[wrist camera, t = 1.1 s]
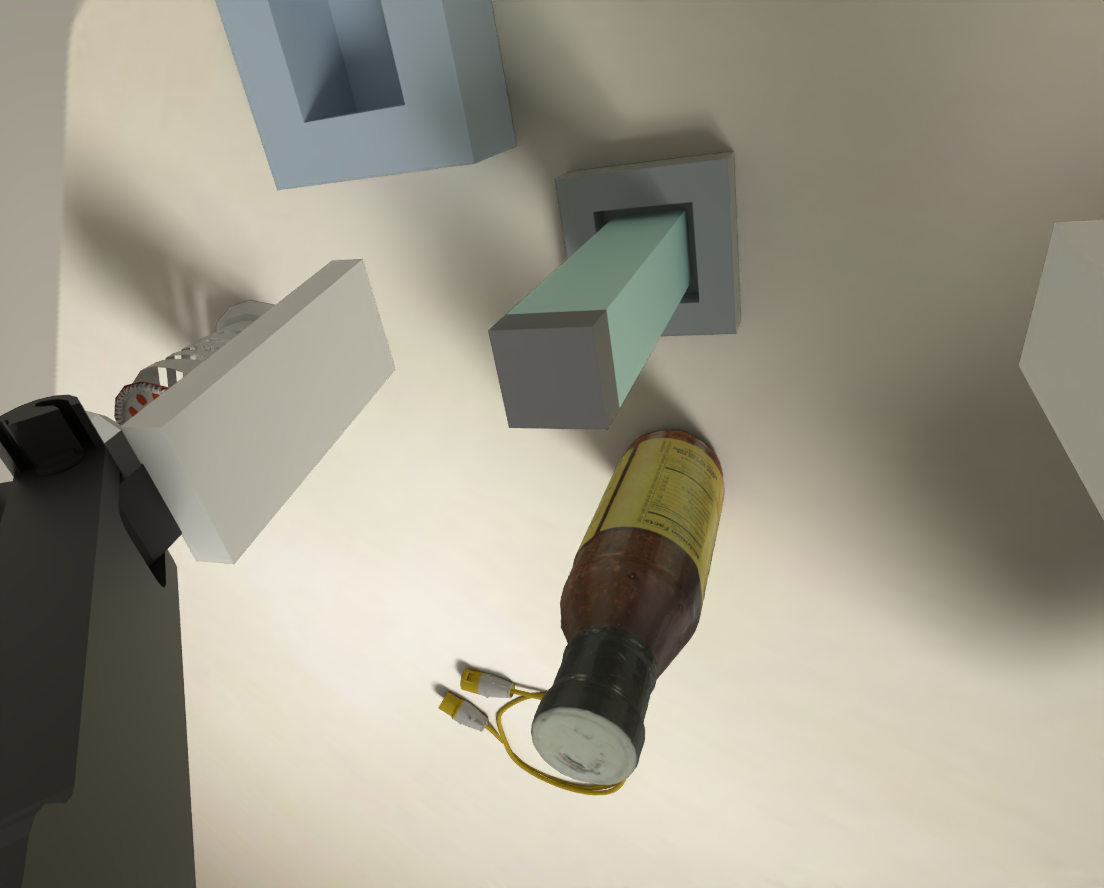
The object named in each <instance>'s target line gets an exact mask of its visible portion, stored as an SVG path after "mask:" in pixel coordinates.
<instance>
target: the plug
mask: <svg viewBox="0 0 1104 888" xmlns="http://www.w3.org/2000/svg"><path fill="white" fill-rule="evenodd" d="M690 283H691V269H690V255H689V241H688V228H687V214H686V209H684V210H673V211H663V212H653V213H642V214H632V215H622V216H615V217H614V218H612V219H611V220H610V221H609V222H608V223H607V224H606V225H605V226H604V227H602V228H601V229H600V230H599V231H598V232H597V233H596V234H595V235H594V236H592V237H591V238H590V239H589V240H588V241H587V242H586V243H585V244H584V245H583V246H581V247H580V248H579V249H578V250H577V251H576V252H575V253H574V254H573V255H571V256H570V257H569V258H568V259H567V260H566V261H565V262H564V263H563V264H562V265H560V266H559V267H558V268H557V269H556V270H555V271H554V272H553V273H552V274H550V275H549V276H548V277H547V278H546V279H545V280H544V281H543V282H542V283H540V284H539V285H538V286H537V287H536V288H535V289H534V290H533V291H532V292H531V293H529V294H528V295H527V296H526V297H525V298H524V299H523V300H522V301H521V302H519V303H518V304H517V305H516V306H515V307H514V308H513V309H512V310H511V311H510V312H508V313H507V314H506V315H505V316H504V317H503V318H502V319H501V320H500V321H498V322H497V323H496V324H495V325H494V326H493V327H492V328H491V329H490V330H488V332H489V336H490V341H491V346H492V350H493V355H494V360H495V364H496V369H497V374H498V378H499V383H500V388H501V392H502V397H503V402H504V406H505V411H506V416H507V420H508V425H509V428H549V429H608V428H609V426H610V425H611V423H612V421H613V419H614V417H615V416H616V414H617V412H618V410H619V409H620V407H621V405H622V403H623V402H624V400H625V398H626V396H627V394H628V393H629V391H630V389H631V387H632V386H633V384H634V382H635V380H636V379H637V377H638V375H639V373H640V372H641V370H642V368H643V366H644V364H645V363H646V361H647V359H648V357H649V356H650V354H651V352H652V350H653V349H654V347H655V345H656V343H657V341H658V340H659V338H660V336H661V334H662V333H663V331H664V329H665V327H666V326H667V324H668V322H669V320H670V318H671V317H672V315H673V313H674V311H675V310H676V308H677V306H678V304H679V303H680V301H681V299H682V297H683V295H684V294H685V292H686V290H687V288H688V287H689V285H690Z"/></svg>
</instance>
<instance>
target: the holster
mask: <svg viewBox="0 0 1104 888" xmlns="http://www.w3.org/2000/svg"><path fill="white" fill-rule="evenodd" d="M555 183H556V189H557V196H558V202H559V209H560V215H561V222H562V228H563V235H564V241H565V248H566V254H567V259H568V258H569V257H570V256H571V255H573V254H574V253H575V252H576V251H577V250H578V249H579V248H580V247H581V246H583V245H584V244H585V243H586V242H587V241H588V240H589V239H590V238H591V237H592V236H594V235H595V234H596V233H597V232H598V231H599V230H600V229H601V228H602V227H604V226H605V225H606V224H607V223H608V222H609V221H610V220H611V219H612V218H614V217H615V216H622V215H632V214H642V213H653V212H663V211H673V210H684V209H686V214H687V228H688V241H689V255H690V269H691V283H690V285H689V287H688V288H687V290H686V292H685V294H684V295H683V297H682V299H681V301H680V303H679V304H678V306H677V308H676V310H675V311H674V313H673V315H672V317H671V318H670V320H669V322H668V324H667V326H666V327H665V329H664V331H663V333H662V334H661V336H682V335H713V334H736V333H737V330H738V327H739V324H740V321H741V307H740V283H739V259H738V235H737V212H736V188H735V164H734V151H731V152H723V153H715V154H707V155H699V156H691V157H683V158H675V159H667V160H658V161H650V162H642V163H634V164H626V165H618V166H610V167H602V168H594V169H586V170H578V171H570V172H567V173H565V174H563V175H562V176H560V177H558V178H557V179H555Z"/></svg>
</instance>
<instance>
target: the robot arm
mask: <svg viewBox="0 0 1104 888" xmlns="http://www.w3.org/2000/svg"><path fill="white" fill-rule="evenodd" d="M1019 367H1020V369H1021V371H1022V373H1023V375H1024V376H1025V378H1026V380H1027V382H1028V384H1029V386H1030V387H1031V389H1032V391H1033V393H1034V395H1035V397H1036V398H1037V400H1038V402H1039V404H1040V406H1041V407H1042V409H1043V411H1044V413H1045V415H1046V417H1047V418H1048V420H1049V422H1050V424H1051V426H1052V427H1053V429H1054V431H1055V433H1056V435H1057V437H1058V438H1059V440H1060V442H1061V444H1062V446H1063V448H1064V449H1065V451H1066V453H1067V455H1068V457H1069V458H1070V460H1071V462H1072V464H1073V466H1074V468H1075V469H1076V471H1077V473H1078V475H1079V477H1080V479H1081V480H1082V482H1083V484H1084V486H1085V488H1086V489H1087V491H1088V493H1089V495H1090V497H1091V499H1092V500H1093V502H1094V504H1095V506H1096V508H1097V510H1098V511H1099V513H1100V515H1101V517H1102V519H1103V520H1104V219H1103V220H1084V221H1065V222H1055V223H1054V227H1053V231H1052V235H1051V239H1050V243H1049V247H1048V251H1047V255H1046V259H1045V263H1044V267H1043V271H1042V275H1041V279H1040V283H1039V287H1038V291H1037V295H1036V299H1035V303H1034V307H1033V311H1032V315H1031V319H1030V323H1029V327H1028V331H1027V335H1026V339H1025V343H1024V347H1023V351H1022V355H1021V359H1020V363H1019ZM395 370H396V369H395V366H394V362H393V359H392V355H391V352H390V349H389V345H388V342H387V339H386V335H385V332H384V329H383V325H382V322H381V319H380V315H379V312H378V308H377V305H376V302H375V298H374V295H373V292H372V288H371V285H370V282H369V278H368V275H367V272H366V268H365V265H364V261H363V259H354V260H335V261H331V262H330V263H328V264H327V265H326V266H325V267H323V268H322V269H321V270H320V271H318V272H317V273H316V274H314V275H313V276H312V277H311V278H309V279H308V280H307V281H305V282H304V283H303V284H302V285H300V286H299V287H298V288H297V289H295V290H294V291H293V292H291V293H290V294H289V295H288V296H286V297H285V298H284V299H283V300H281V301H280V302H279V303H277V304H276V305H275V306H274V307H272V308H271V309H270V310H269V311H267V312H266V313H265V314H263V315H262V316H261V317H260V318H258V319H257V320H256V321H254V322H253V323H252V324H251V325H249V326H248V327H247V328H246V329H244V330H243V331H242V332H240V333H239V334H238V335H237V336H235V337H234V338H233V339H232V340H230V341H229V342H228V343H226V344H225V345H224V346H223V347H221V348H220V349H219V350H218V351H216V352H215V353H214V354H212V355H211V356H210V357H209V358H207V359H206V360H205V361H203V362H202V363H201V364H200V365H198V366H197V367H196V368H195V369H193V370H192V371H191V372H189V373H188V374H187V375H186V376H184V377H183V378H182V379H181V380H179V381H178V382H177V383H175V384H174V385H173V386H172V387H170V388H169V389H168V390H166V391H165V392H164V393H163V394H161V395H160V396H159V397H158V398H156V399H155V400H154V401H152V402H151V403H150V404H149V405H147V406H146V407H145V408H144V409H142V410H141V411H140V412H138V413H137V414H136V415H135V416H133V417H132V418H131V419H130V420H128V421H127V422H126V423H124V424H123V425H122V426H121V427H120V428H121V431H119V432H118V433H117V434H115V435H114V436H113V437H112V438H110V439H109V440H108V441H107V442H105V443H104V442H103V440H102V438H101V437H100V435H99V433H98V432H97V430H96V428H95V427H94V425H93V423H92V421H91V420H90V418H89V416H88V415H87V413H86V411H85V410H84V408H83V406H82V405H81V403H80V401H79V400H78V398H77V397H75V396H71V395H56V396H51V397H46V398H43V399H39V400H35V401H32V402H29V403H27V404H24V405H21V406H19V407H17V408H15V409H13V410H11V411H9V412H7V413H5V414H3V415H1V416H0V458H1V460H2V461H3V462H4V464H5V465H6V467H7V468H8V469H9V471H10V472H11V474H12V475H13V477H14V478H13V481H11V482H5V483H0V888H196V880H195V863H194V846H193V829H192V813H191V796H190V779H189V762H188V745H187V729H186V712H185V695H184V678H183V662H182V645H181V628H180V611H179V594H178V578H177V566H176V564H175V562H174V560H173V558H172V556H171V555H170V553H169V551H168V550H167V549H168V548H169V547H170V546H171V545H172V544H173V543H174V542H175V540H176V539H177V538H178V537H179V536H180V535H182V537H183V538H184V540H185V542H186V544H187V545H188V547H189V549H190V551H191V552H192V554H193V556H194V558H195V559H196V561H200V562H212V563H224V564H235V563H236V561H237V560H238V559H239V558H240V557H241V555H242V554H243V553H244V552H245V551H246V549H247V548H248V547H249V546H250V545H251V543H252V542H253V541H254V540H255V538H256V537H257V536H258V535H259V534H260V532H261V531H262V530H263V529H264V528H265V526H266V525H267V524H268V523H269V522H270V520H271V519H272V518H273V517H274V516H275V514H276V513H277V512H278V511H279V510H280V508H281V507H282V506H283V505H284V503H285V502H286V501H287V500H288V499H289V497H290V496H291V495H292V494H293V493H294V491H295V490H296V489H297V488H298V487H299V485H300V484H301V483H302V482H303V481H304V479H305V478H306V477H307V476H308V475H309V473H310V472H311V471H312V470H313V469H314V467H315V466H316V465H317V464H318V462H319V461H320V460H321V459H322V458H323V456H324V455H325V454H326V453H327V452H328V450H329V449H330V448H331V447H332V446H333V444H334V443H335V442H336V441H337V440H338V438H339V437H340V436H341V435H342V434H343V432H344V431H345V430H346V429H347V428H348V426H349V425H350V424H351V423H352V421H353V420H354V419H355V418H356V417H357V415H358V414H359V413H360V412H361V411H362V409H363V408H364V407H365V406H366V405H367V403H368V402H369V401H370V400H371V399H372V397H373V396H374V395H375V394H376V393H377V391H378V390H379V389H380V388H381V387H382V385H383V384H384V383H385V382H386V380H387V379H388V378H389V377H390V376H391V374H392V373H393V372H394V371H395Z"/></svg>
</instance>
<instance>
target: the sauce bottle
mask: <svg viewBox="0 0 1104 888" xmlns="http://www.w3.org/2000/svg"><path fill="white" fill-rule="evenodd" d="M724 492H725V488H724V481H723V473H722V469H721V465H720V462H719V459H718V457H717V455H716V454H715V453H714V452H713V451H712V450H711V449H710V448H709V447H708V446H707V445H706V444H705V443H703V442H702V441H700V440H699V439H697V438H696V437H694V436H693V435H690V434H688V433H686V432H683V431H680V430H663V431H658V432H653V433H650V434H646V435H644V436H641V437H639V438H638V439H637V440H636V441H635V442H634V443H633V444H632V445H631V446H630V448H629V449H628V451H627V453H626V454H625V455H624V456H623V457H622V458H621V460H620V461H619V463H618V465H617V467H616V469H615V471H614V473H613V475H612V478H611V480H610V482H609V484H608V486H607V488H606V490H605V493H604V495H603V497H602V499H601V501H600V504H599V506H598V508H597V510H596V512H595V515H594V517H593V519H592V521H591V523H590V525H589V528H588V530H587V532H586V534H585V536H584V538H583V541H582V543H581V545H580V547H579V549H578V552H577V554H576V556H575V559H574V563H573V568H572V570H571V572H570V575H569V576H568V579H567V581H566V583H565V585H564V588H563V592H562V596H561V601H560V608H561V629H562V631H563V633H564V635H565V637H566V640H567V642H568V645H567V646H566V648H565V651H564V654H563V659H562V664H561V666H560V668H559V670H558V673H557V676H556V678H555V680H554V684H553V686H552V687H551V688H550V689H549V690H548V691H547V693H546V694H545V695H544V697H543V698H542V699H541V702H540V704H539V706H538V709H537V711H536V714H535V716H534V720H533V722H532V729H531V734H532V740H533V744H534V746H535V748H536V750H537V751H538V753H539V754H540V755H541V757H542V758H543V759H544V760H545V761H546V762H547V763H548V764H549V765H550V766H552V767H553V768H554V769H556V770H557V771H559V772H560V773H561V774H564V775H566V776H569V777H571V778H573V779H576V780H579V781H583V782H589V783H593V784H597V785H612V784H616V783H619V782H621V781H623V780H625V779H627V778H628V777H629V776H630V774H631V773H632V772H633V771H634V769H635V768H636V767H637V765H638V762H639V757H640V754H641V751H642V748H643V745H644V741H645V727H644V724H643V723H644V718H645V714H646V710H647V707H648V702H649V699H650V694H651V693H652V691H653V689H654V687H655V684H656V680H657V679H658V677H659V676H660V675H661V674H662V673H663V672H664V670H665V669H666V668H667V667H668V666H669V664H670V663H671V662H672V661H673V659H674V658H675V657H676V656H677V655H678V653H679V652H680V651H681V650H682V649H683V647H684V646H685V645H686V644H687V642H688V641H689V640H690V639H691V637H692V636H693V634H694V632H695V631H696V628H697V625H698V623H699V619H700V615H701V610H702V605H703V600H704V596H705V589H706V585H707V579H708V575H709V571H710V565H711V561H712V555H713V550H714V546H715V540H716V535H717V531H718V526H719V521H720V516H721V511H722V506H723V500H724Z"/></svg>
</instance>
